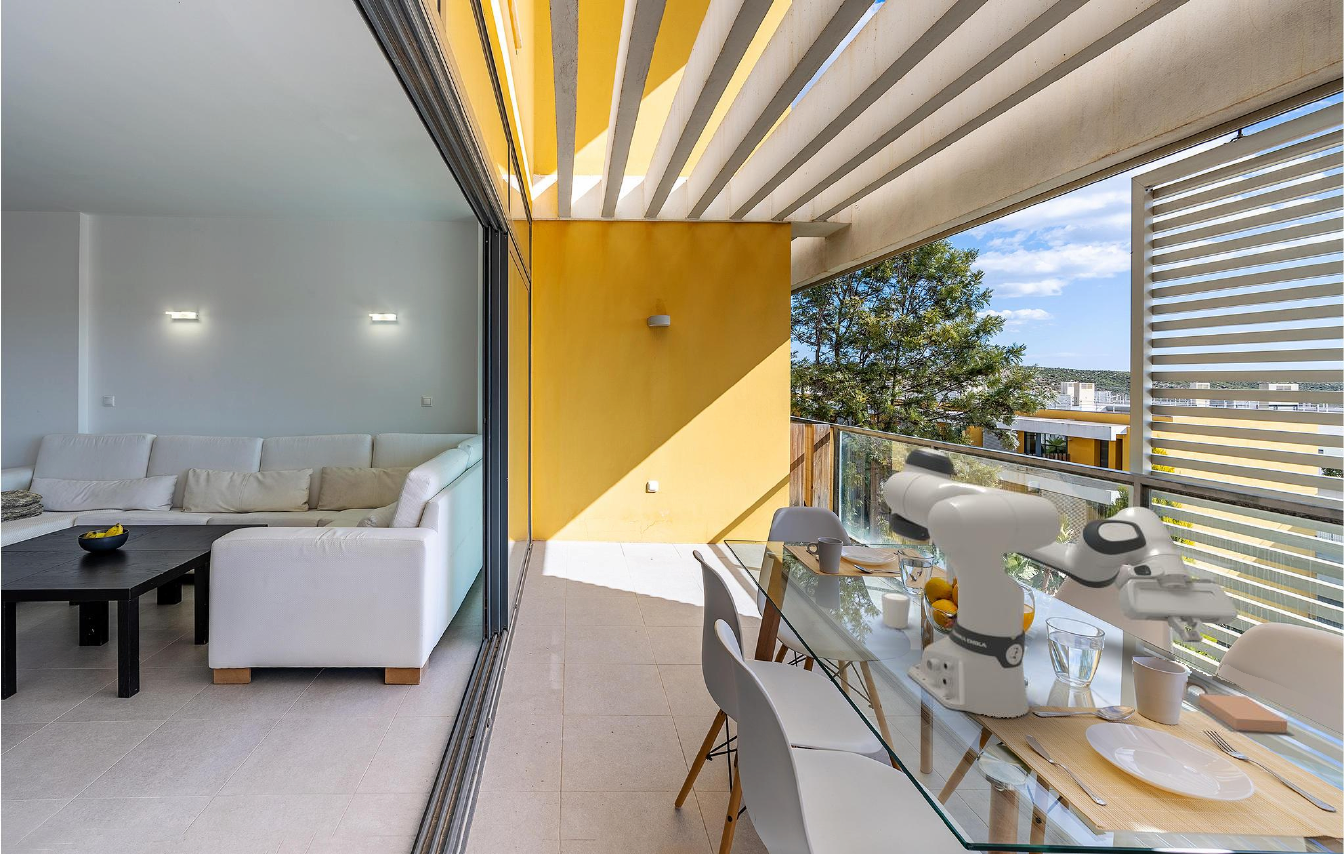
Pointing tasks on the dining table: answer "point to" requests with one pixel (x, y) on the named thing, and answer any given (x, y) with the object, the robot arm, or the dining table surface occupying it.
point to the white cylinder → (895, 609)
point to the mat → (1194, 701)
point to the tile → (1242, 713)
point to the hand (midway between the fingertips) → (1193, 641)
